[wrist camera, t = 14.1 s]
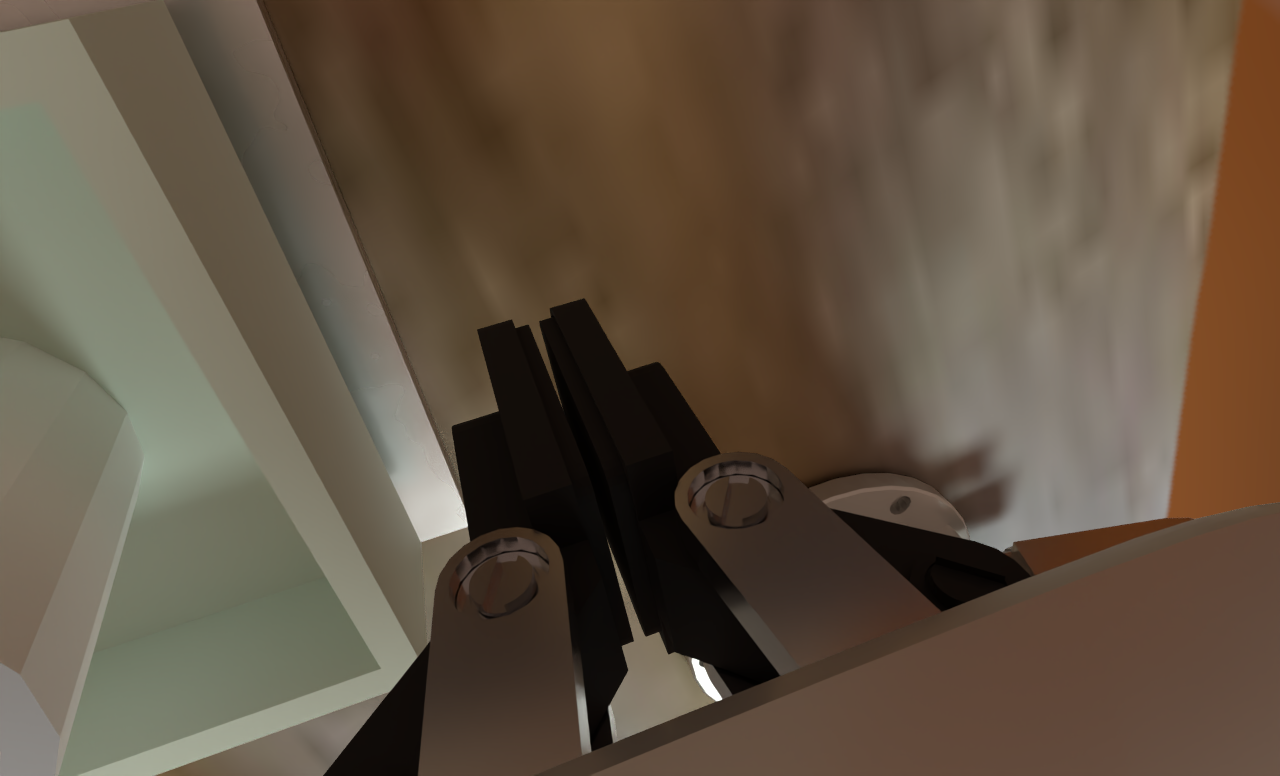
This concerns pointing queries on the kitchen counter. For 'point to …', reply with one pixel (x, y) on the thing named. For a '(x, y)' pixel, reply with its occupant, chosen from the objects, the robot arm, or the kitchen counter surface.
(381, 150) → the kitchen counter surface
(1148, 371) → the kitchen counter surface
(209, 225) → the pale green open box
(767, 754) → the robot arm
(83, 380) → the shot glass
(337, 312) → the white flat board
